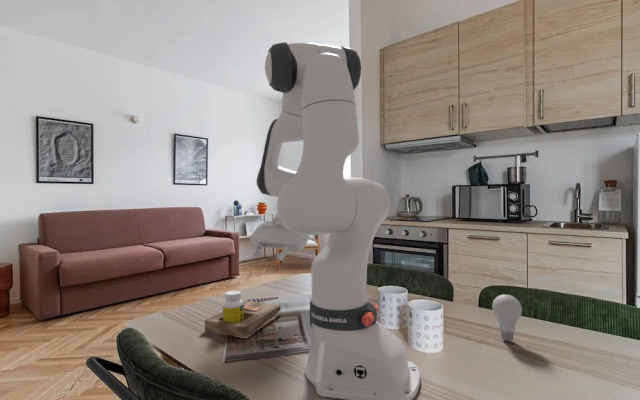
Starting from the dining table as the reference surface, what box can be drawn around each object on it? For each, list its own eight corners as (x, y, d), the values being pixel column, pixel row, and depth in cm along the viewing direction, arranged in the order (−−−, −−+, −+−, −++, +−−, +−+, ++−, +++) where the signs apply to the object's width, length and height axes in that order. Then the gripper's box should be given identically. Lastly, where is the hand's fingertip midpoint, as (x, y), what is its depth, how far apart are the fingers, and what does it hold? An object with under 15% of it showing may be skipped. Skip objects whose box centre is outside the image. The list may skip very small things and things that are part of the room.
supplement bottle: (243, 331, 88) (242, 294, 87) (222, 334, 86) (221, 296, 86) (244, 324, 93) (243, 289, 93) (224, 325, 92) (223, 290, 92)
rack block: (280, 315, 98) (280, 304, 98) (245, 339, 83) (245, 326, 83) (244, 310, 104) (244, 299, 104) (204, 331, 88) (204, 319, 88)
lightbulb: (525, 340, 79) (524, 294, 79) (518, 349, 75) (518, 300, 75) (496, 333, 83) (496, 289, 83) (489, 341, 79) (488, 295, 79)
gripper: (258, 215, 112) (236, 249, 104) (308, 217, 100) (288, 254, 92) (268, 227, 116) (247, 260, 108) (316, 230, 104) (298, 267, 96)
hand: (266, 258), depth 100 cm, fingers open, 8 cm apart
